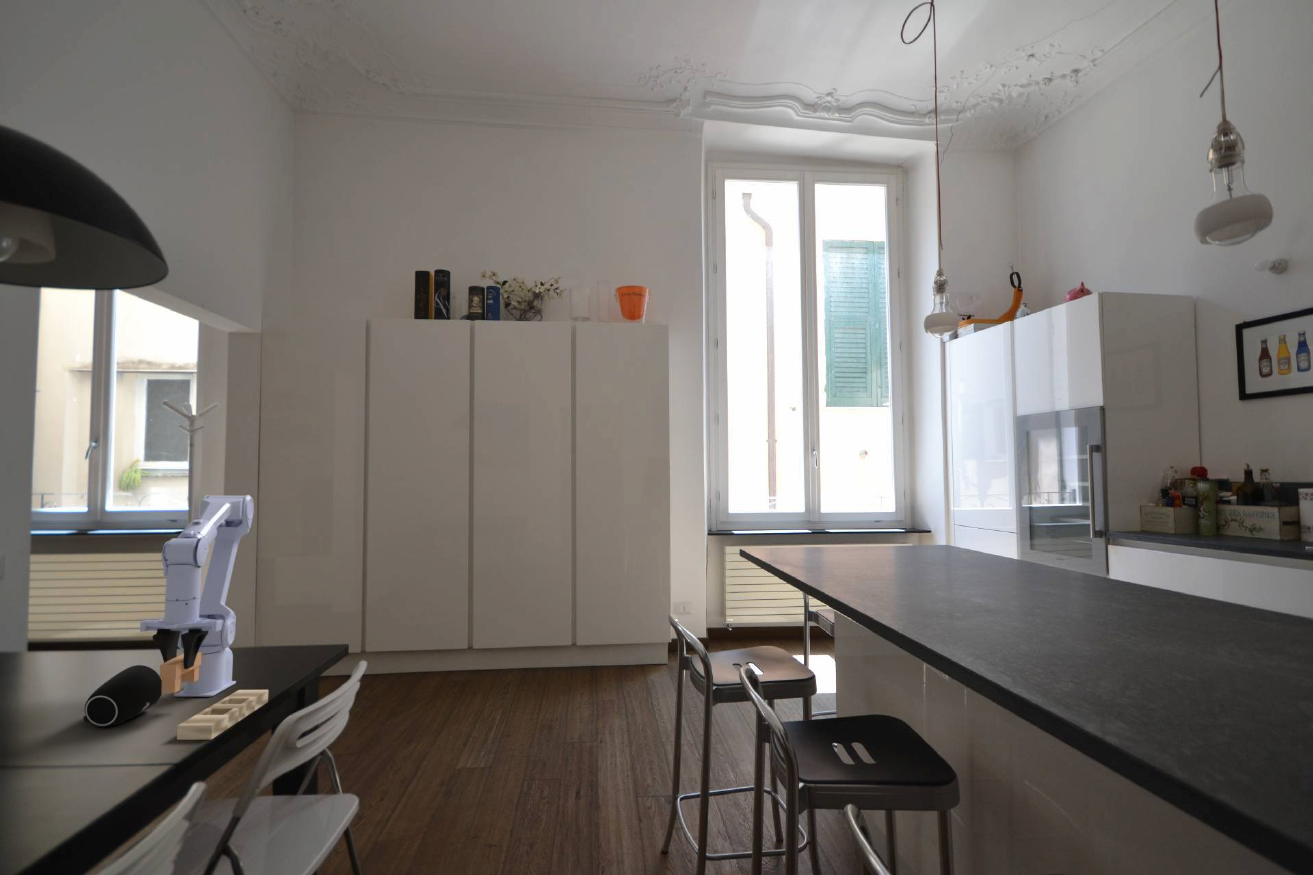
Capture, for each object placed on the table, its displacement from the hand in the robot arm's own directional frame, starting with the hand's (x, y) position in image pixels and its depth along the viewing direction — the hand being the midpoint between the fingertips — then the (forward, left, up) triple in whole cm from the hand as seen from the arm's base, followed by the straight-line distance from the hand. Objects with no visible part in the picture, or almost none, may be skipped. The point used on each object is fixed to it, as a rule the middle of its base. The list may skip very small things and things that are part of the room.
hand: (179, 667), depth 135 cm
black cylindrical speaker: (+8, -10, -6) cm, 14 cm away
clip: (-1, 0, -4) cm, 4 cm away
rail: (+3, +11, -9) cm, 15 cm away
